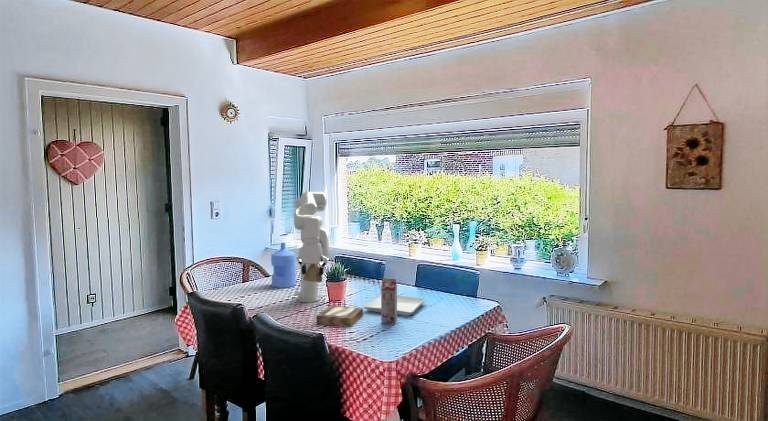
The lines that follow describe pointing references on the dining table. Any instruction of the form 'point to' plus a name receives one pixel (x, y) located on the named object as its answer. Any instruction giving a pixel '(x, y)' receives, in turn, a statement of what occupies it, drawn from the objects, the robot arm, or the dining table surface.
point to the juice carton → (388, 301)
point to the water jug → (283, 268)
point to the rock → (313, 274)
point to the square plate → (403, 305)
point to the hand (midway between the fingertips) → (312, 274)
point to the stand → (339, 316)
